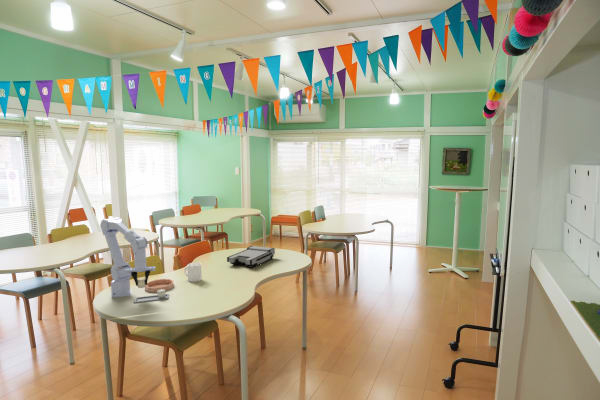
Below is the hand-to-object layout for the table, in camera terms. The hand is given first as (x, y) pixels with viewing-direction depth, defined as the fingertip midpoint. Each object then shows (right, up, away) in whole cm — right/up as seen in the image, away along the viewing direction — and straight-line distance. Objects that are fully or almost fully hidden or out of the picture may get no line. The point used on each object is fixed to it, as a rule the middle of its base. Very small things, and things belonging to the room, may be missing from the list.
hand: (141, 284), depth 199 cm
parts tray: (+5, -8, +1) cm, 10 cm away
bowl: (+2, -7, +19) cm, 20 cm away
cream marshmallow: (0, -1, 0) cm, 1 cm away
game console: (+50, -1, +73) cm, 89 cm away
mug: (+17, -5, +34) cm, 39 cm away
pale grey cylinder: (+10, -8, +3) cm, 13 cm away
